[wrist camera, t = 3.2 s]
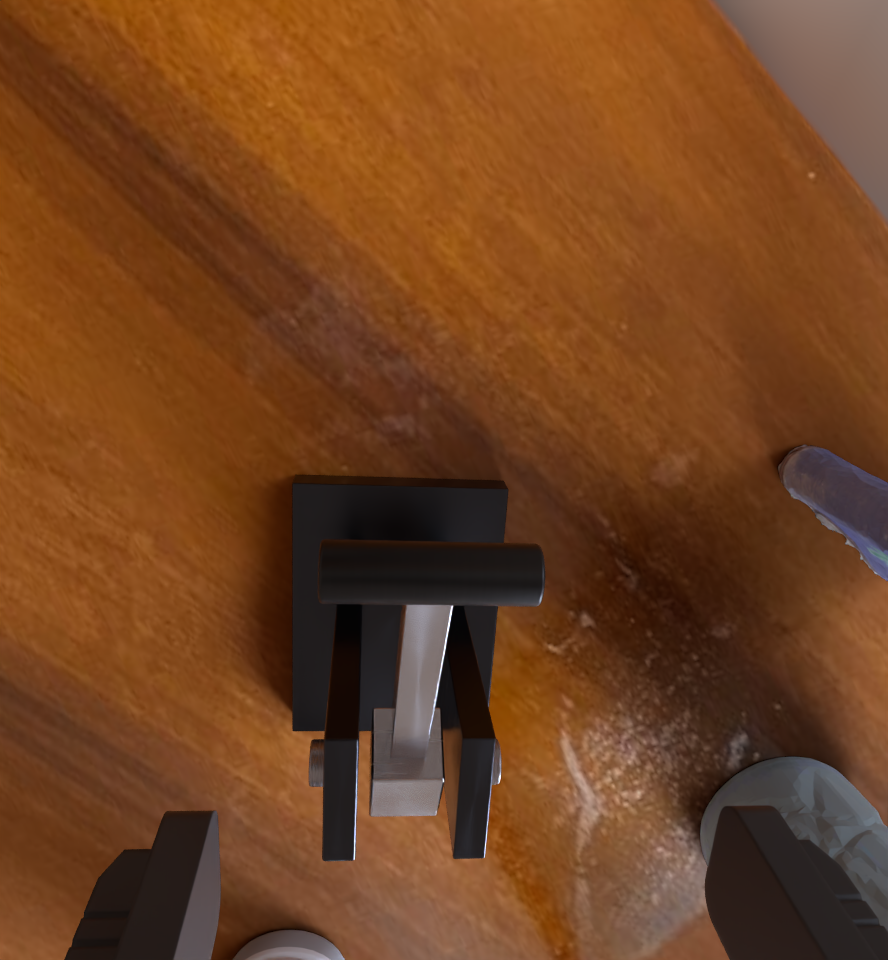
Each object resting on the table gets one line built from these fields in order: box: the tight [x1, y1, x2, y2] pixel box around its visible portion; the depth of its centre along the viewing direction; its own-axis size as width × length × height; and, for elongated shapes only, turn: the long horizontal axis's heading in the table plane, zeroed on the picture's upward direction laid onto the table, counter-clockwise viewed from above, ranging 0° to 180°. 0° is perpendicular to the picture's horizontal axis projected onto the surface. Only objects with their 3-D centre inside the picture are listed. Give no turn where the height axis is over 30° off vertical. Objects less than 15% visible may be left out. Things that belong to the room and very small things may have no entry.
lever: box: [318, 539, 545, 816], centre depth 21 cm, size 12×5×2 cm, turn 177°
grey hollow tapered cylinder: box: [700, 757, 888, 931], centre depth 36 cm, size 10×10×12 cm
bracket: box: [292, 475, 508, 861], centre depth 29 cm, size 12×9×13 cm
